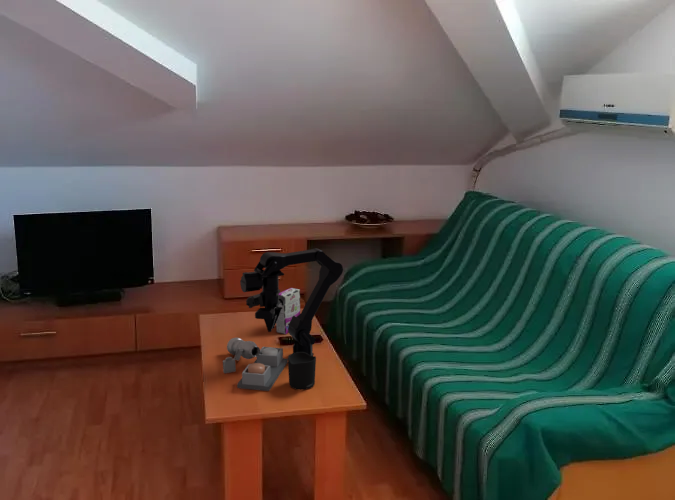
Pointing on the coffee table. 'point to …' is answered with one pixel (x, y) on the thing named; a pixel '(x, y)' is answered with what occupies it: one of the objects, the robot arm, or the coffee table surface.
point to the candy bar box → (288, 309)
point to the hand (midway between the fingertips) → (271, 329)
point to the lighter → (231, 362)
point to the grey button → (270, 351)
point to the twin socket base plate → (270, 375)
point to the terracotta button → (256, 368)
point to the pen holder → (301, 370)
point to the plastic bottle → (248, 348)
